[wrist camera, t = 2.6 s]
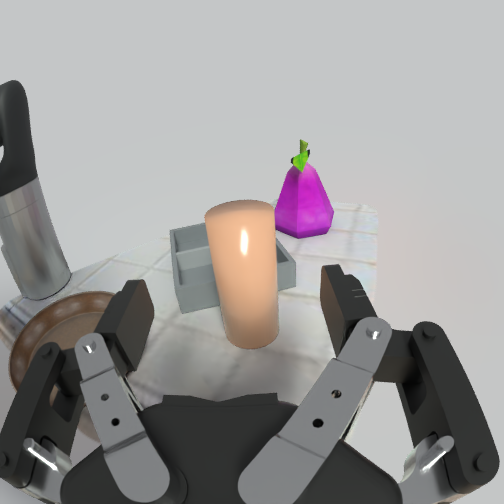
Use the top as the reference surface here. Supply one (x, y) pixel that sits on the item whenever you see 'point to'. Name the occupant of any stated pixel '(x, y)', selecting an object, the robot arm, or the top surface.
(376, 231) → the top surface
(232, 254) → the peach pillar candle
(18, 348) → the object
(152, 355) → the top surface
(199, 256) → the divided storage tray
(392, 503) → the robot arm
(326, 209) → the pear
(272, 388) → the top surface
